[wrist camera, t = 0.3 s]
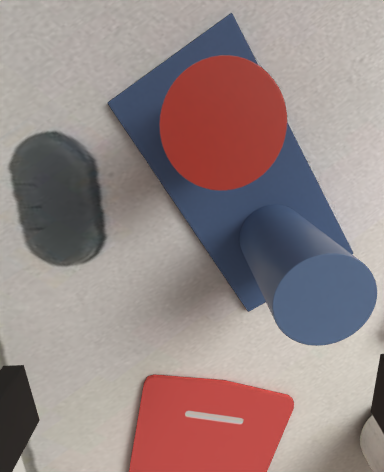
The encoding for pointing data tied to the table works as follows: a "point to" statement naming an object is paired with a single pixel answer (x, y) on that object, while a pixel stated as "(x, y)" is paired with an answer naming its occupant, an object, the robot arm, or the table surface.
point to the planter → (373, 445)
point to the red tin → (223, 122)
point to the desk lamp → (207, 426)
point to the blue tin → (306, 277)
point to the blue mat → (225, 201)
